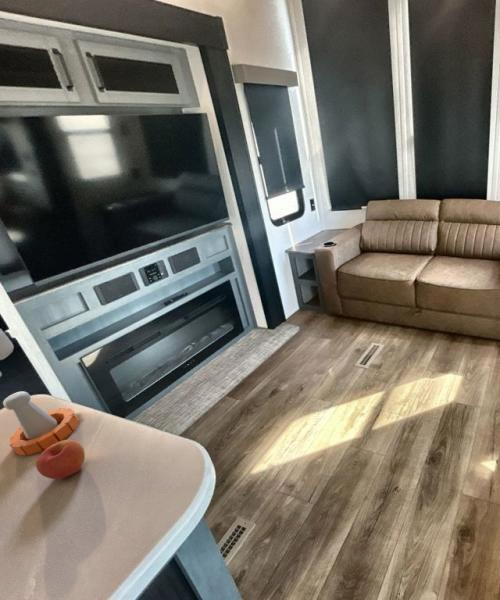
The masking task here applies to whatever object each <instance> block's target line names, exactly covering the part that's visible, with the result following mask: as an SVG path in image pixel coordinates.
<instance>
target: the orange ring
mask: <svg viewBox="0 0 500 600" xmlns="http://www.w3.org/2000/svg"><path fill="white" fill-rule="evenodd" d="M45 412H46V411H45ZM46 413H47V414H49V415H50V416H51V417H53V418H54V419H55V420H56V421H57V423H59V422H60V423H59V424H57V427H56V428H54V429H53V430H52V431H50V432H48V433H46V434H44V435H43V436H41V437H39V438H35V439H32V440H29V439H27V438H26V436H25V434H24V432H23V430H22V428H21V426H20V427H18V429H16V430H15V432H14V433H12V435H11V436H10V438H9V440H8V442H9V446H10V448H11V449H12V450H13V451H14V452H15V454H17V455H21V456H30V455H33V454H37V453H42V452H43V451H44V450H46V449H47V448H48V447H50V446H52V445H53V444H55V443H58V442H60V441H63V440H66V438H67V437H68V436H70V435H71V434H72V433H73V432H74V431H75V430H76V428H77V427H78V425H79V423H80V420H79V417H78V416H77V414H76V413H75V411H74V410H73V409H72V408H70V407H69V408H67V407H62V408H61V407H60V408H56V409H52V410H49V411H47V412H46Z"/></svg>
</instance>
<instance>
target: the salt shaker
mask: <svg viewBox="0 0 500 600" xmlns="http://www.w3.org/2000/svg"><path fill="white" fill-rule="evenodd" d="M31 399H32V398H31V395H30V394H29V392H27V391H22V390H21V391H17V392H14V393H12V394H10V395H9V396H7V397H6V398H4V400H3V401H2V405H3V407H4V408H5V409H6V410H9V411H13V413H14V415H15V417H16V419H17V421H18V423H19V424H18V425H19V426H20V427H21V428H22V430H23V432H24V434H25V436H26V438H27V439H29V440H32V439H35V438H39V437H41V436H43V435H44V434H46V433H48V432H50V431H52V430H53V429H54V428H56V427H57V426H58V422H57V421H56V420H55V419H54V418H53V417H51V416H50V415H49V414H47V413H48V412H47V413H46V411H45V410H44V409H42V408H41V407H39V406H38V405H36V404H35V403H34V402H32V401H31Z"/></svg>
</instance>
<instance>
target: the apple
mask: <svg viewBox="0 0 500 600" xmlns="http://www.w3.org/2000/svg"><path fill="white" fill-rule="evenodd" d="M85 458H86V453H85V448H84V446H83V445H82V444H81V443H80V442H79V441H77V440H75V439H63V440H62V441H59V442H58V443H55V444H53V445H52V446H50V447H48V448H47V449H46V450H44V449H43V451H41V452H40V455H38V457H37V460H36V462H35V467H36V471H37V472H38V473H39V474H40V475H41V476H43V477H44V478H47V479H52V480H61V479H65V478H68V477H69V476H72V475H73V474H76V473H78V472H79V471H80V470H81V469H82V467H83V464H84V462H85Z"/></svg>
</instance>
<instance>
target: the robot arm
mask: <svg viewBox="0 0 500 600" xmlns="http://www.w3.org/2000/svg"><path fill="white" fill-rule="evenodd" d="M14 348H15V347H14V344H13V342H12V340H10V338H9V336H8V335H6V333H5V332H4V331H3V329H2V328H0V361H2V360H5V359H6V358H7V357H8V356H10V355H11V354H12V353H13V351H14ZM2 375H3V373H2V372H1V371H0V377H2Z"/></svg>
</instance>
